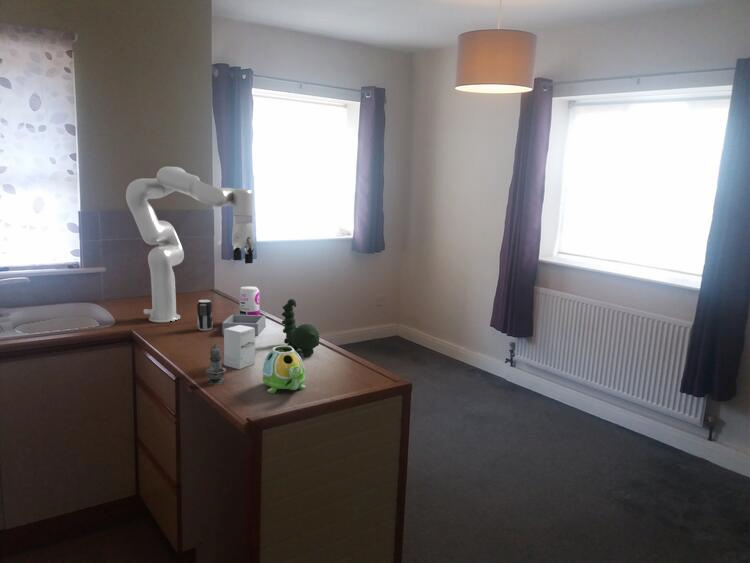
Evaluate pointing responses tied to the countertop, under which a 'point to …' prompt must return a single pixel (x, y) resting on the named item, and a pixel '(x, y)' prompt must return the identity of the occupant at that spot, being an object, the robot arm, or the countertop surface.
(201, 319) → the beverage can
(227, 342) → the supplement box
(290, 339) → the toy figurine
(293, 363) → the turtle holder
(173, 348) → the countertop surface
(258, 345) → the countertop surface
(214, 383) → the grey tower figurine
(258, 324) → the tray
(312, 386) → the countertop surface
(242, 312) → the supplement can
